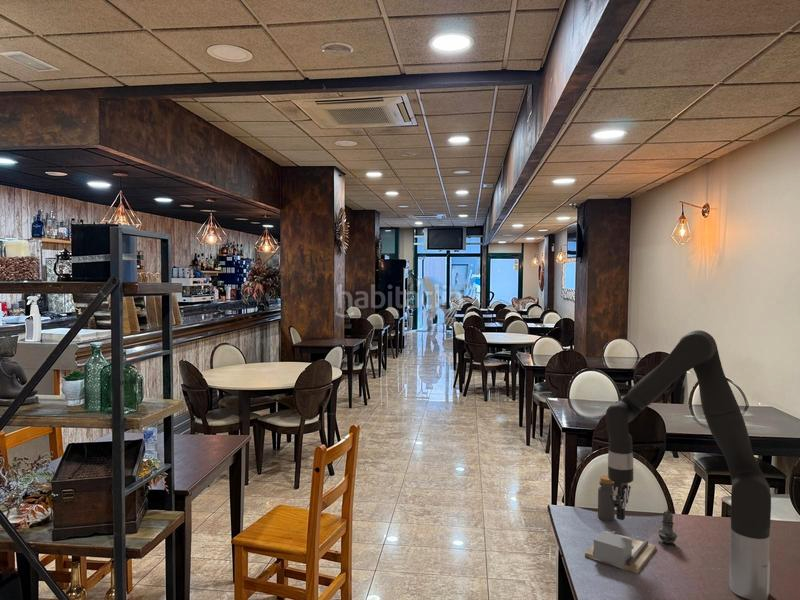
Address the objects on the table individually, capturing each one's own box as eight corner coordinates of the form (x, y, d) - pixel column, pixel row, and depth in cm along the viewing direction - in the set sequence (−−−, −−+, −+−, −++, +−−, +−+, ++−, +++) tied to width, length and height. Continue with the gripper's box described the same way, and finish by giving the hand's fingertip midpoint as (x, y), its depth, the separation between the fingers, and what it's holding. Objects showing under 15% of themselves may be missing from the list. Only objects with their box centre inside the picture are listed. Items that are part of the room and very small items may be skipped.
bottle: (600, 512, 208) (601, 473, 207) (616, 517, 204) (617, 477, 203) (595, 517, 203) (596, 477, 203) (611, 522, 199) (612, 481, 199)
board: (655, 549, 179) (656, 542, 179) (637, 573, 164) (637, 566, 164) (606, 534, 190) (606, 528, 189) (584, 556, 174) (584, 549, 174)
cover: (631, 557, 171) (631, 539, 171) (623, 567, 165) (623, 548, 164) (602, 548, 176) (602, 530, 176) (593, 557, 170) (593, 539, 170)
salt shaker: (679, 549, 179) (680, 513, 179) (660, 547, 180) (660, 511, 180) (674, 541, 185) (675, 506, 185) (655, 539, 186) (656, 504, 186)
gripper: (626, 472, 167) (626, 529, 168) (639, 462, 178) (639, 515, 178) (601, 468, 172) (601, 522, 172) (615, 457, 182) (615, 509, 183)
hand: (620, 518), depth 175 cm, fingers closed
